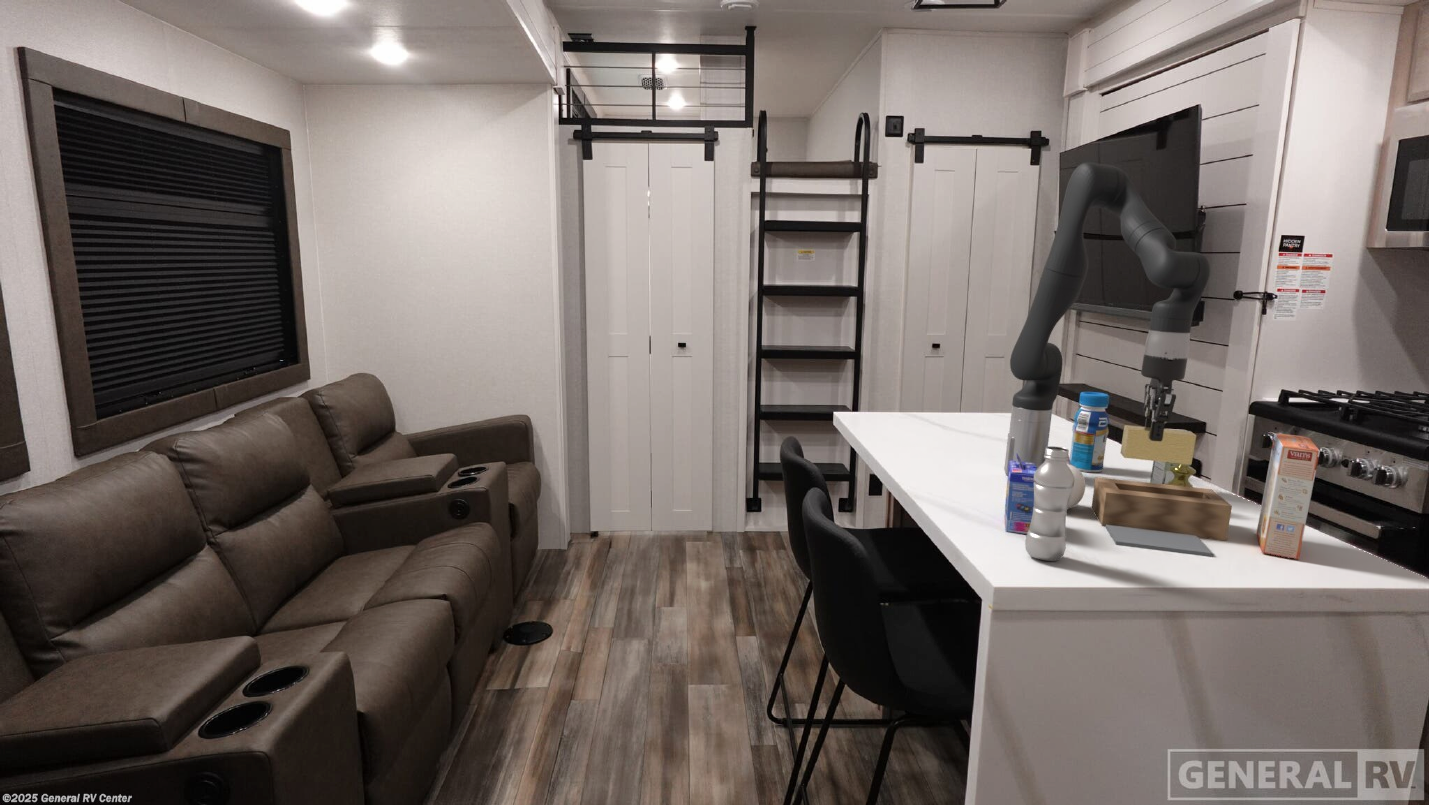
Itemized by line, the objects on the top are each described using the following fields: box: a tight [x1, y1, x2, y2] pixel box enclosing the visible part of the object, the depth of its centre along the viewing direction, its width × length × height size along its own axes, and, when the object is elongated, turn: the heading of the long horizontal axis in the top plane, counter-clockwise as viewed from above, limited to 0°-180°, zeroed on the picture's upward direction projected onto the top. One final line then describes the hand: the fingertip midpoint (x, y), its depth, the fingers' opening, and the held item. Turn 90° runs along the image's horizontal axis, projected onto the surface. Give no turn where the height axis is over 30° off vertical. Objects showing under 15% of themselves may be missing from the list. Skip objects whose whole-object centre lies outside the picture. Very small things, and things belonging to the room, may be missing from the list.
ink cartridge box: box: [1004, 453, 1037, 535], centre depth 150 cm, size 10×6×14 cm, turn 161°
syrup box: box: [1149, 428, 1191, 484], centre depth 180 cm, size 6×6×14 cm
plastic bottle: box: [1024, 445, 1074, 562], centre depth 133 cm, size 6×7×20 cm
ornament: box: [1066, 454, 1086, 510], centre depth 163 cm, size 10×10×12 cm
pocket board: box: [1090, 476, 1233, 541], centre depth 156 cm, size 22×12×7 cm, turn 73°
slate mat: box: [1105, 525, 1214, 557], centre depth 145 cm, size 16×10×1 cm, turn 73°
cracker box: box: [1256, 433, 1321, 560], centre depth 143 cm, size 14×6×21 cm, turn 148°
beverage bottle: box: [1069, 391, 1110, 473], centre depth 197 cm, size 8×8×20 cm
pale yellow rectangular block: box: [1120, 424, 1197, 466], centre depth 154 cm, size 12×4×6 cm, turn 73°
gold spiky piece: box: [1166, 464, 1197, 487], centre depth 166 cm, size 7×7×10 cm
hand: (1152, 437), depth 154 cm, fingers closed on pale yellow rectangular block, 4 cm apart
